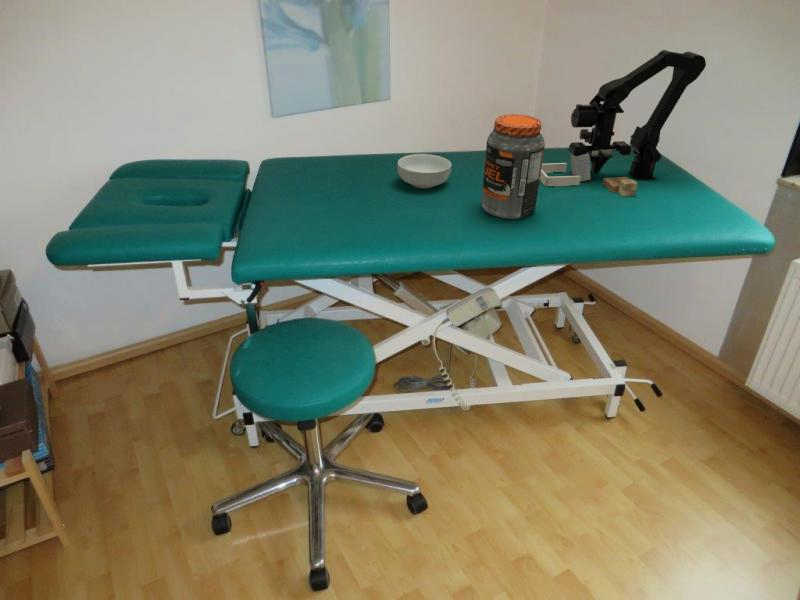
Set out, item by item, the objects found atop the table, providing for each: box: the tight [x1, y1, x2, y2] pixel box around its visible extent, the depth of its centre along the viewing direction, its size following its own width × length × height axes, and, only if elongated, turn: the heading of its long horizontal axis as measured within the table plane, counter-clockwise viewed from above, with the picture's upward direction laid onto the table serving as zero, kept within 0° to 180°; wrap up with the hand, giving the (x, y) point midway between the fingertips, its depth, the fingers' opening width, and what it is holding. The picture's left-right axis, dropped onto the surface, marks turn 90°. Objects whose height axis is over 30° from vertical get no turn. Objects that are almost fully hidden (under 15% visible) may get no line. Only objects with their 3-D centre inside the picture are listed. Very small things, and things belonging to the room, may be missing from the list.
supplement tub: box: [481, 113, 546, 220], centre depth 168 cm, size 16×16×26 cm
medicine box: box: [570, 152, 591, 182], centre depth 194 cm, size 8×4×9 cm, turn 179°
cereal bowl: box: [396, 153, 452, 189], centre depth 189 cm, size 17×17×7 cm
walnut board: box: [602, 176, 638, 193], centre depth 190 cm, size 8×7×2 cm
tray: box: [540, 162, 581, 188], centre depth 195 cm, size 11×13×3 cm
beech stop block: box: [617, 179, 638, 197], centre depth 185 cm, size 4×3×4 cm
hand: (594, 174), depth 197 cm, fingers closed
